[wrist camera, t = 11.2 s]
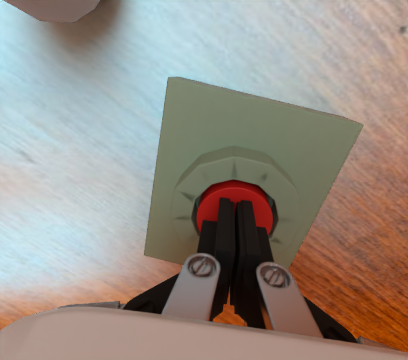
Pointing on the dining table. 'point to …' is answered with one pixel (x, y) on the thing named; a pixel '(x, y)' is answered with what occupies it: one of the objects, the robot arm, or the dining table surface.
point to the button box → (241, 163)
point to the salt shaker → (55, 9)
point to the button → (235, 201)
